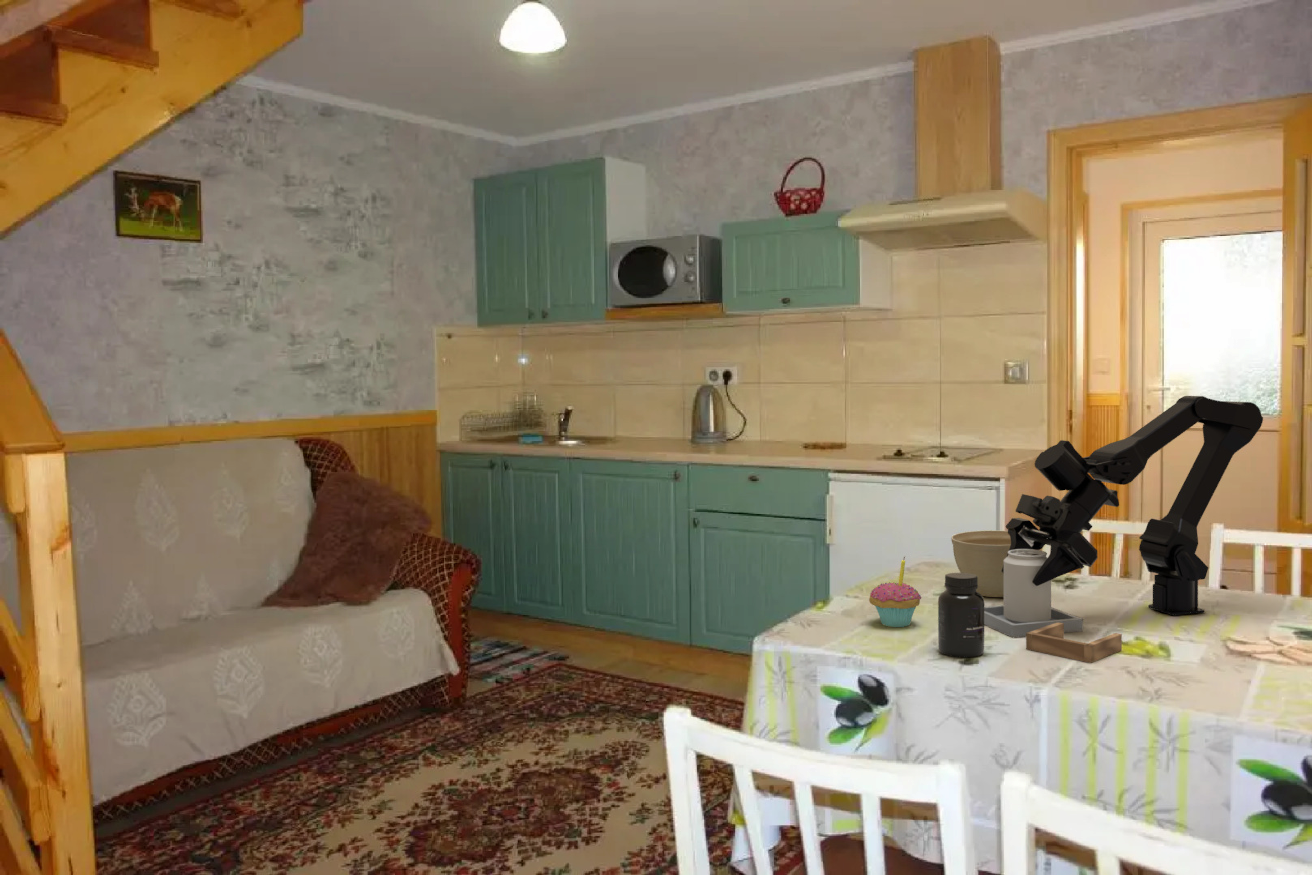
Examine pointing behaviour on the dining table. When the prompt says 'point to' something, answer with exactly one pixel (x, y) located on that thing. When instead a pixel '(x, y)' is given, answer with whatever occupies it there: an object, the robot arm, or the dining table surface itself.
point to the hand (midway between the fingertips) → (1018, 578)
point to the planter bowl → (983, 558)
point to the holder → (1071, 644)
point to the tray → (1000, 623)
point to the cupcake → (895, 601)
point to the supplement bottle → (961, 617)
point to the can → (1025, 587)
